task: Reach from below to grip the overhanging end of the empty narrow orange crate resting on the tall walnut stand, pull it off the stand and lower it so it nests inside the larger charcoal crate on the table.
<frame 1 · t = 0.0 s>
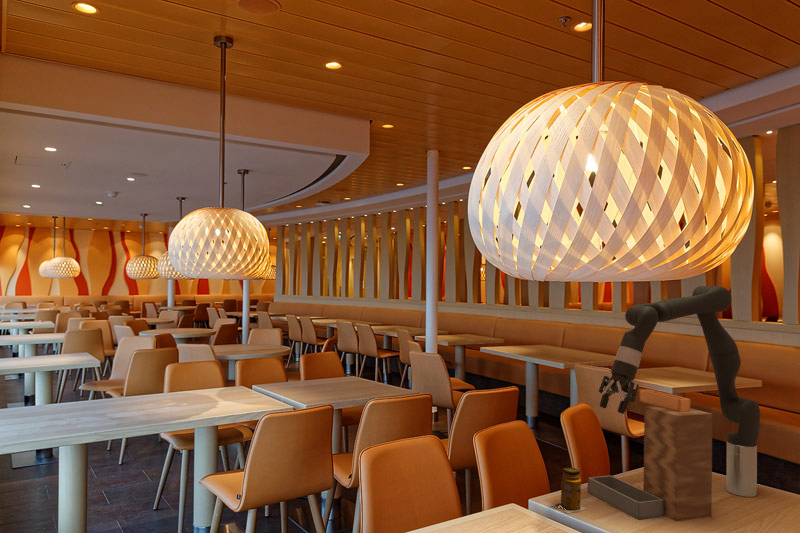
hand: (611, 410, 186), 31 cm above the table, tool tilted 20°, fingers open, 8 cm apart
walnut stand: (676, 510, 185), on the table
condiment: (568, 508, 185), on the table
narrow crate: (663, 406, 192), point 32 cm above the table, touching walnut stand
charcoal crate: (623, 503, 190), on the table
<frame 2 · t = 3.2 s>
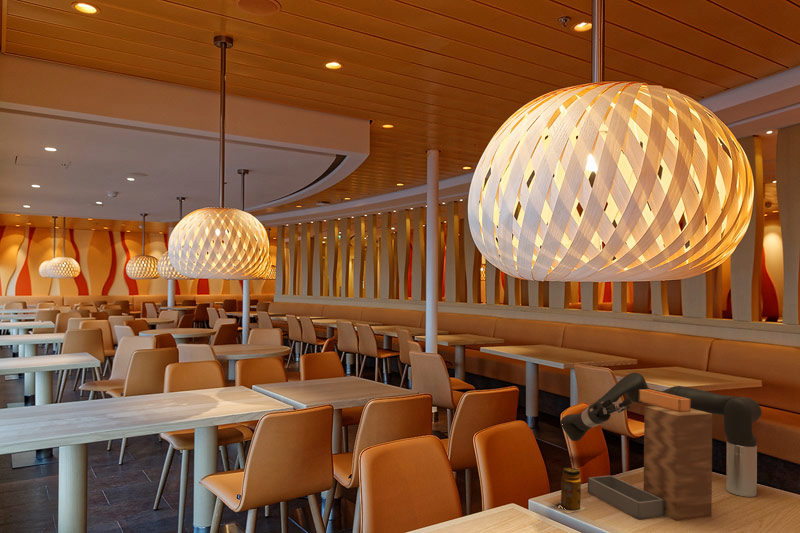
hand: (620, 401, 211), 30 cm above the table, tool pointing upward, fingers open, 8 cm apart
nothing on the table moved.
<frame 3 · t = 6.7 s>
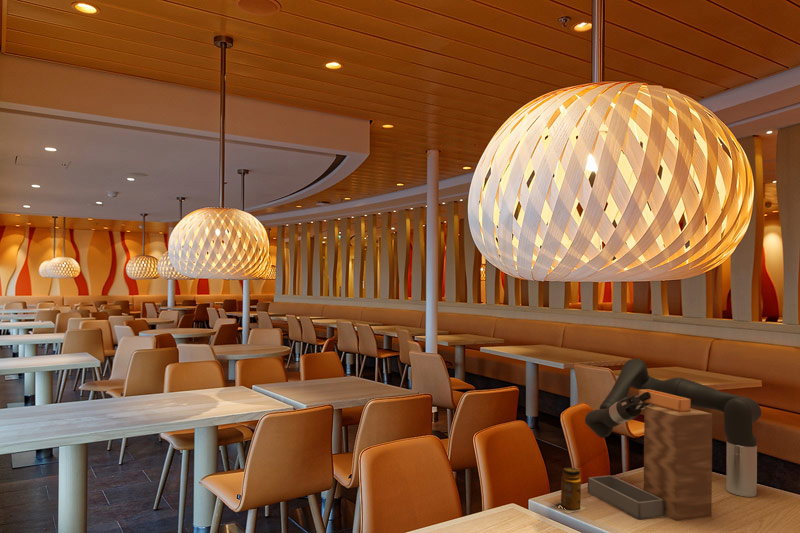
hand: (655, 394, 196), 35 cm above the table, tool pointing upward, fingers closed on narrow crate, 4 cm apart
narrow crate: (663, 406, 192), point 32 cm above the table, touching gripper, walnut stand
everything else where it was.
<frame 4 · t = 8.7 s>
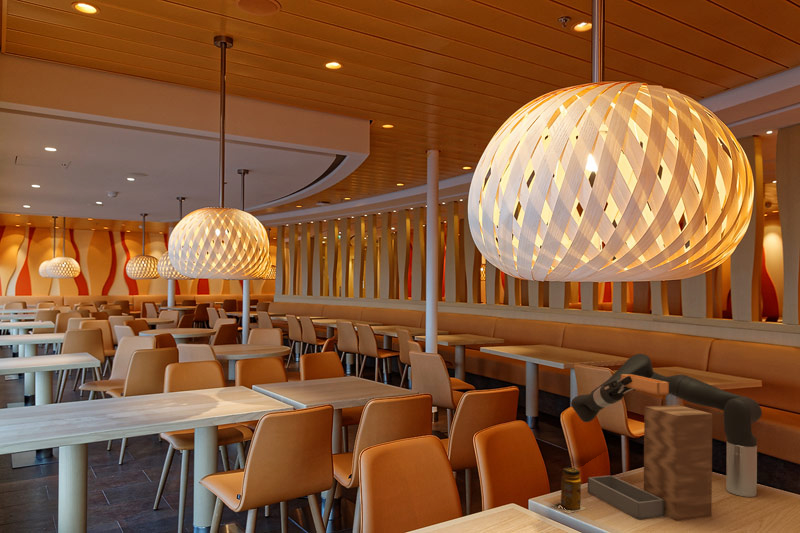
hand: (636, 378, 204), 39 cm above the table, tool pointing upward, fingers closed on narrow crate, 4 cm apart
narrow crate: (643, 389, 201), point 36 cm above the table, touching gripper
everything else where it was.
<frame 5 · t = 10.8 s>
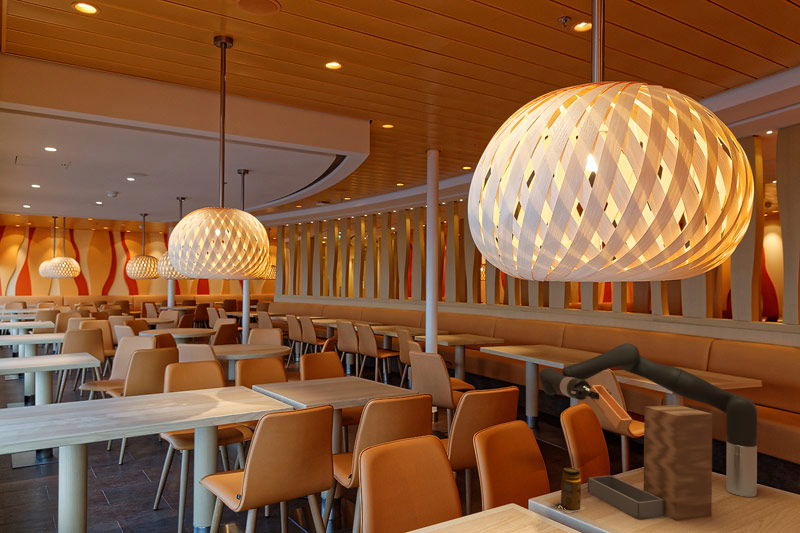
hand: (604, 395, 201), 33 cm above the table, tool horizontal, fingers closed on narrow crate, 4 cm apart
narrow crate: (607, 410, 199), point 29 cm above the table, tilted 29°, touching gripper
everything else where it was.
when the fingers open (10 cm above the table, at t = 14.6 s): narrow crate drops 4 cm, resting on charcoal crate.
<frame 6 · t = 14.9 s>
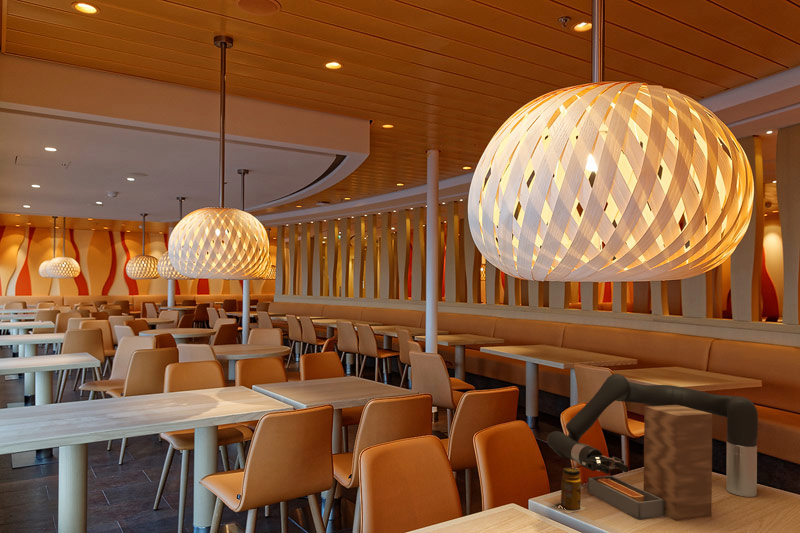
hand: (618, 470, 193), 10 cm above the table, tool horizontal, fingers open, 7 cm apart
narrow crate: (619, 499, 192), point 1 cm above the table, touching charcoal crate
everything else where it was.
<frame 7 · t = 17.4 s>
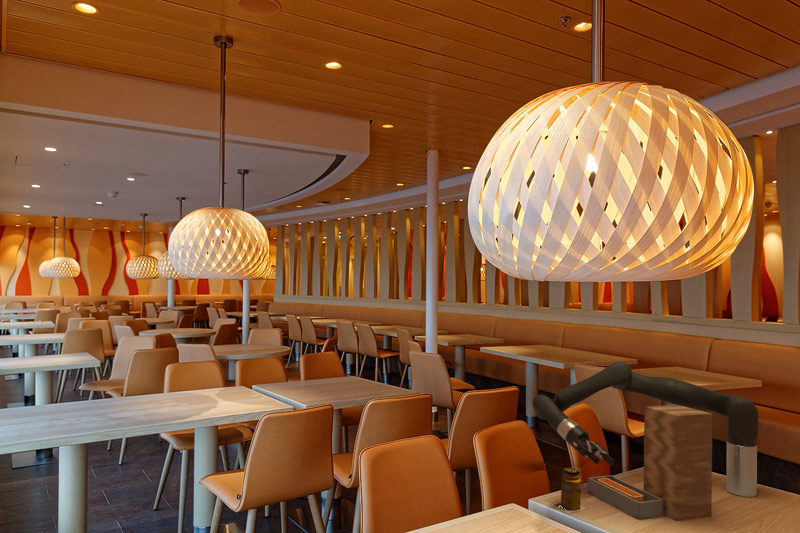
hand: (605, 462, 198), 11 cm above the table, tool tilted 65°, fingers open, 8 cm apart
nothing on the table moved.
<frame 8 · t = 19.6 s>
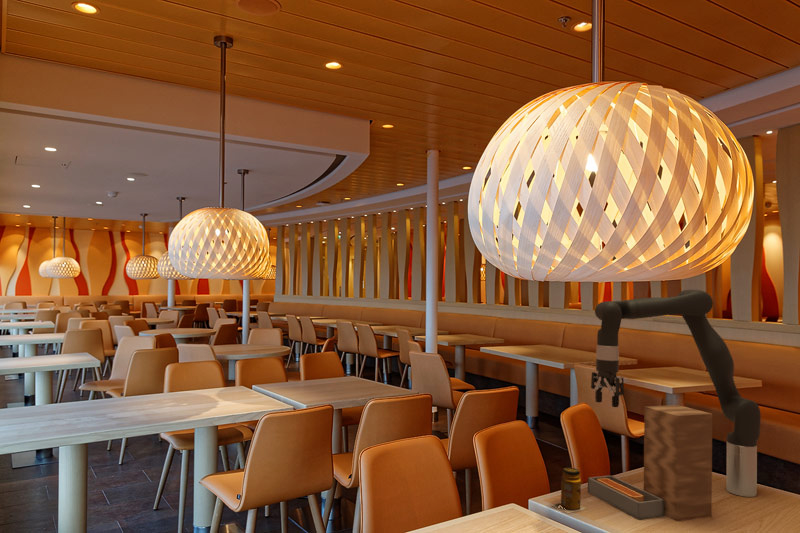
hand: (606, 404, 203), 30 cm above the table, tool pointing down, fingers open, 8 cm apart
nothing on the table moved.
at the end: narrow crate inside the target area on the charcoal crate (2.3 cm from its centre), point 0.6 cm above the charcoal crate's base; narrow crate tilted 0°; the gripper is holding nothing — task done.
